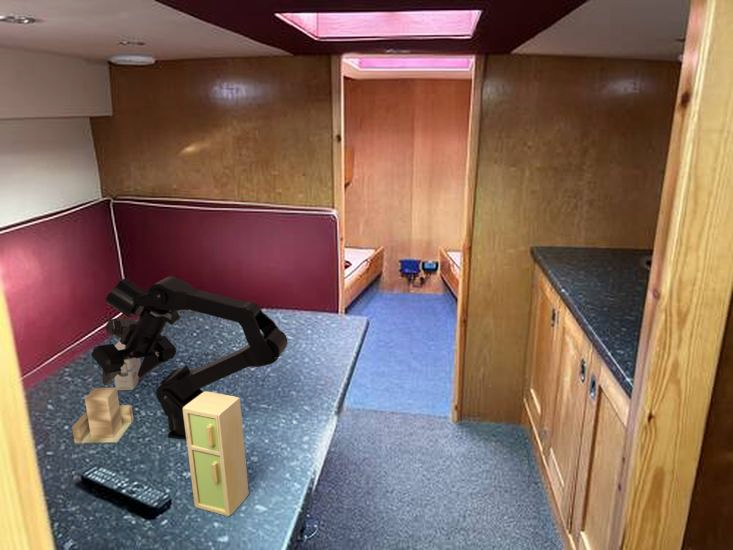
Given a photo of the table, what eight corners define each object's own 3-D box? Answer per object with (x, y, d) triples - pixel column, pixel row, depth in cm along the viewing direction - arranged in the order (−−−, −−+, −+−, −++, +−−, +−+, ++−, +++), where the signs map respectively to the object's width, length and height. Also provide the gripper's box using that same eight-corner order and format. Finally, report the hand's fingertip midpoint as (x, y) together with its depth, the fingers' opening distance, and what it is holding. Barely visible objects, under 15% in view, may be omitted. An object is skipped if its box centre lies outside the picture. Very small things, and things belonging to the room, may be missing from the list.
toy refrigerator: (190, 510, 103) (179, 408, 97) (214, 486, 109) (205, 389, 104) (227, 520, 100) (217, 416, 94) (249, 495, 107) (241, 397, 101)
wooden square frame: (133, 420, 134) (131, 405, 132) (117, 442, 124) (115, 426, 123) (93, 420, 133) (91, 405, 132) (74, 443, 124) (72, 427, 123)
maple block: (122, 426, 131) (116, 387, 128) (113, 437, 126) (107, 398, 123) (100, 426, 130) (94, 387, 128) (90, 438, 126) (83, 398, 123)
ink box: (125, 376, 156) (119, 337, 153) (143, 376, 156) (138, 337, 153) (114, 391, 148) (108, 350, 144) (134, 390, 148) (129, 349, 145)
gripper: (161, 302, 134) (136, 351, 138) (91, 308, 117) (65, 363, 122) (189, 331, 130) (162, 381, 134) (120, 342, 113) (92, 398, 118)
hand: (122, 380), depth 127 cm, fingers open, 9 cm apart
